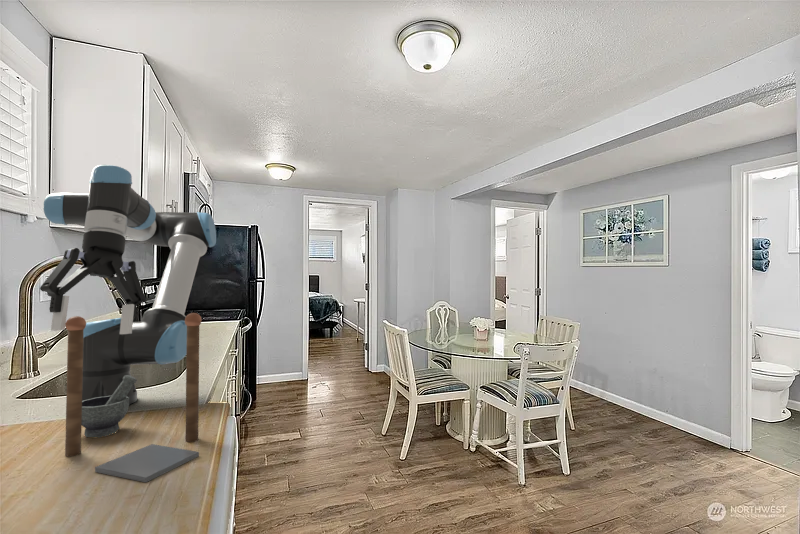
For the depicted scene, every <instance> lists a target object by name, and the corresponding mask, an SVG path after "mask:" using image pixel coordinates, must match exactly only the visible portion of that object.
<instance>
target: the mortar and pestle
mask: <svg viewBox="0 0 800 534" xmlns="http://www.w3.org/2000/svg"><path fill="white" fill-rule="evenodd" d="M137 381H138V380H137V378H136V377H134V376H133V375H131V376H129V375H125V376H124V377H123V381H122V382H121V383H120V385H119V386H118V388H117V389H116V390H115V392H114V393H113V394H112V395H111V396H104V397H96V398H92V399H88V400H83V401H82V427H83V428H84V435H85V436H86V437H85V436H84V437H85V438H87V437H98V438H103V437H102V436H104V437H108V436H110V435H109V434H111V435H113V434H112V433H114V434H116V433H117V432H118V431H117V430H118V429H119V430H120V424H119V423H120V422H121V421H122V420H123V419H124V418H125V416H126V415H127V413H128V410H129V407H130V404H129V397H127V394H128V393H129V391H130V389H131V387H132V385H133V384H134V385H135V384H136V383H137ZM116 431H117V432H116ZM115 432H116V433H115ZM107 435H108V436H107Z"/></svg>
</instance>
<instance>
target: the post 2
mask: <svg viewBox="0 0 800 534" xmlns="http://www.w3.org/2000/svg"><path fill="white" fill-rule="evenodd" d="M185 316H186V318H185V324H186V326H187V348H186V356H185V357H186V359H185V361H186V363H185V364H186V365H185V366H186V367H185V437H184V438H185V442H187V443H191V442H192V441H193V442H196V441H198V440H199V418H200V417H199V413H200V410H199V406H200V405H199V403H200V402H199V399H200V325H201V324H202V316H201V315H200V314H199V313H197V312H191V313H188V314H187V315H185Z"/></svg>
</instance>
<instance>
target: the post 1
mask: <svg viewBox="0 0 800 534" xmlns="http://www.w3.org/2000/svg"><path fill="white" fill-rule="evenodd" d="M86 323H87V320H86V319H85V318H84V317H82V316H80V315H74V316H71V317H69V318H68V319H66V324H65V330H67V352H66V353H67V358H66V359H67V360H66V366H67V367H66V399H65V400H66V401H65V403H66V405H65V409H66V410H65V440H64V441H65V444H64V446H65V450H64V457H75V456H79V455H80V454H81V453H82V427H83V426H82V380H83V332H84V328H85V327H86Z"/></svg>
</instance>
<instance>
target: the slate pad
mask: <svg viewBox="0 0 800 534" xmlns="http://www.w3.org/2000/svg"><path fill="white" fill-rule="evenodd" d="M199 457H200V451H195V450H191V449H183V448H180V447H172V446H167V445H160V444H154V443H151V444H149V445H146V446H144V447H141V448H139V449H136V450H134V451H131V452H129V453H126V454H124V455H122V456H119V457H116V458H114V459H112V460H109V461H107V462H104V463H102V464H99V465H97V466H95V467H94V472H95V473H99V474H103V475H108V476H113V477H116V478H117V477H118V478H124V479H128V480H133V481H137V482H142V483H147V482H149V481H152V480H154V479H155V478H157V477H160V476H162V475H163V474H166V473H168V472H169V471H171V470H174V469H176V468H178V467H180V466H181V465H184V464H186V463H188V462H189V461H192V460H194V459H196V458H199Z"/></svg>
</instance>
